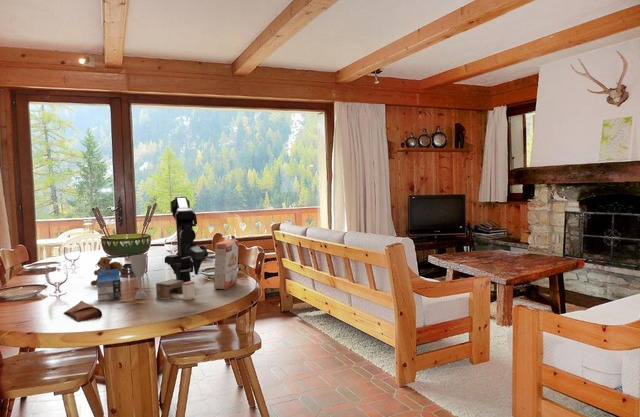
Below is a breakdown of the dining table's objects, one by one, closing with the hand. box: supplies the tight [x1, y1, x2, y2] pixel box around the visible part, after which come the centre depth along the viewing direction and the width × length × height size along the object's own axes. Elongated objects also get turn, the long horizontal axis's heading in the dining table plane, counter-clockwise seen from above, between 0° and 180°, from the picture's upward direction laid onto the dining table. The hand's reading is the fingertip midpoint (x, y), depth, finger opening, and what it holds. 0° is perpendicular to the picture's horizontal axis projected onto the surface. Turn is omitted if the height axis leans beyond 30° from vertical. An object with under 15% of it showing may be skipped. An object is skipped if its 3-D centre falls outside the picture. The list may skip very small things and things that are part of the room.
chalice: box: [129, 254, 148, 300], centre depth 193 cm, size 7×7×18 cm
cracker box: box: [213, 239, 239, 290], centre depth 210 cm, size 14×6×21 cm, turn 168°
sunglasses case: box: [63, 300, 103, 323], centre depth 171 cm, size 18×7×7 cm, turn 47°
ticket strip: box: [169, 280, 196, 301], centre depth 192 cm, size 15×4×7 cm, turn 57°
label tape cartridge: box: [96, 269, 122, 302], centre depth 192 cm, size 9×4×12 cm, turn 117°
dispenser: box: [155, 278, 184, 300], centre depth 195 cm, size 7×9×6 cm
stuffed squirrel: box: [90, 256, 123, 286], centre depth 225 cm, size 10×14×13 cm
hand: (188, 276), depth 189 cm, fingers open, 9 cm apart
